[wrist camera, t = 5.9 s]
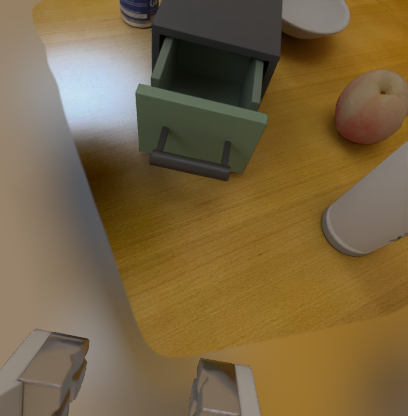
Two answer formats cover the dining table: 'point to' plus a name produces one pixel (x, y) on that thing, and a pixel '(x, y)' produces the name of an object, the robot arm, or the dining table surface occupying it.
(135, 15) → the pill bottle
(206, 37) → the cabinet
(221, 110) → the drawer
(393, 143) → the dining table surface
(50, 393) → the robot arm
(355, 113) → the fruit
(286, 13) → the dish
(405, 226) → the travel mug
